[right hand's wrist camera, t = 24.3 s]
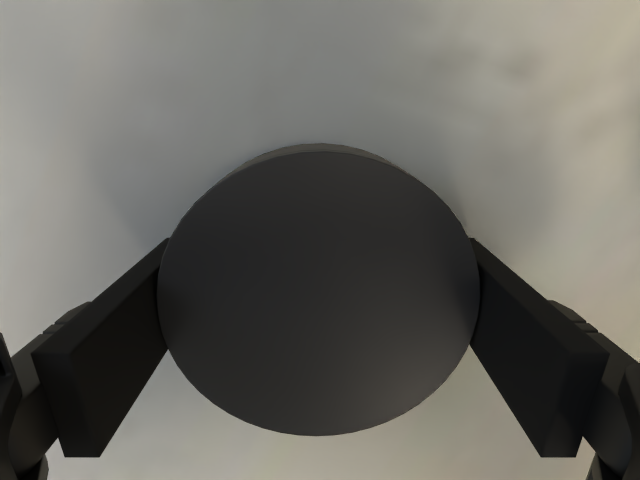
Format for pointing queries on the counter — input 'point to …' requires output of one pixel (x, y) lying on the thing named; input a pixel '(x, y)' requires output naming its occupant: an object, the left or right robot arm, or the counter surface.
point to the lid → (318, 291)
